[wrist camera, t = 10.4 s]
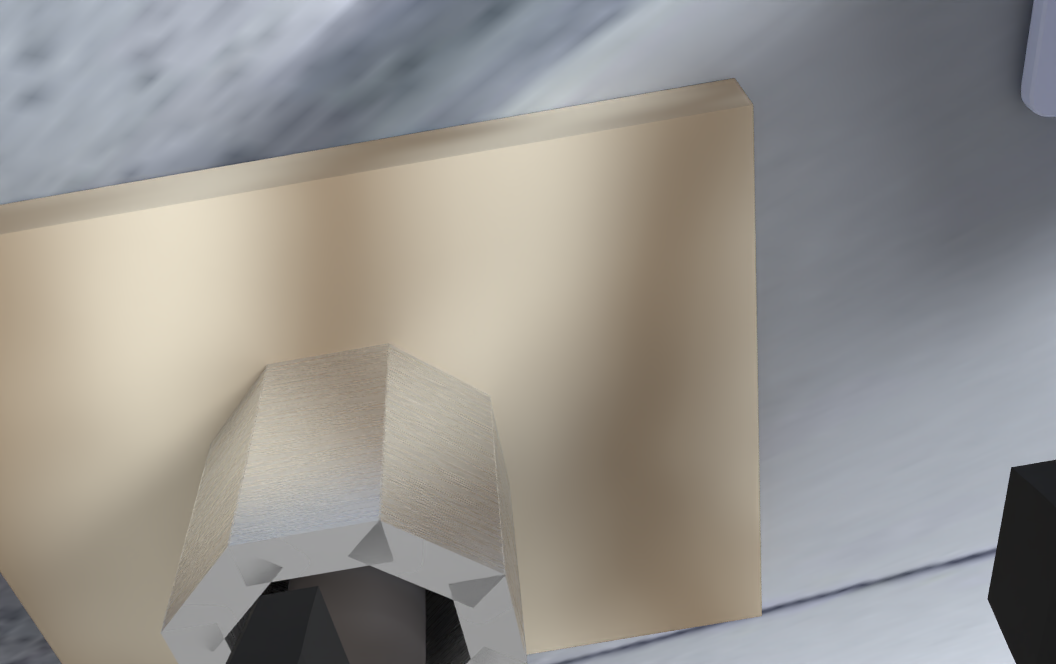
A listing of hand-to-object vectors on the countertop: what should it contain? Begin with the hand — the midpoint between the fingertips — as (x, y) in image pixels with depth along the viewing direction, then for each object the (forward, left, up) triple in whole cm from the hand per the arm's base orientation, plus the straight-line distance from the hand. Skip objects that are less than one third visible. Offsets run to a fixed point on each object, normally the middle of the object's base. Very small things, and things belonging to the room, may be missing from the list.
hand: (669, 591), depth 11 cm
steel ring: (+5, +5, -8) cm, 11 cm away
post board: (+5, +5, -9) cm, 12 cm away
